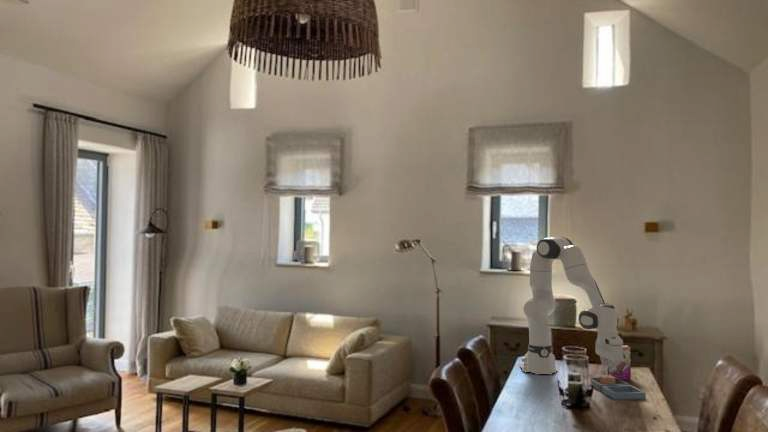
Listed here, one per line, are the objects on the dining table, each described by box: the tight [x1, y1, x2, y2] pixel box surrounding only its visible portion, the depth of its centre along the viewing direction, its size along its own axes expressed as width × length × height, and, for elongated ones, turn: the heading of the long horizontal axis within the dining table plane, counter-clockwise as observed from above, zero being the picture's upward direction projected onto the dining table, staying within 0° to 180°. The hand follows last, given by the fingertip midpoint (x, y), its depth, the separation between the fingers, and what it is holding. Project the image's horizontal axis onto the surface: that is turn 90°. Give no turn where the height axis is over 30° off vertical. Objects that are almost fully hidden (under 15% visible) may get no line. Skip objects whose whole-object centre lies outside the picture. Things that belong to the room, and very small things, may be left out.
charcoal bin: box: [590, 376, 631, 393], centre depth 273 cm, size 14×14×3 cm
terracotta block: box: [599, 374, 616, 385], centre depth 273 cm, size 5×5×5 cm
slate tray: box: [601, 384, 646, 401], centre depth 258 cm, size 12×14×3 cm
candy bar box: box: [604, 344, 632, 381], centre depth 287 cm, size 11×5×16 cm, turn 84°
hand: (609, 367), depth 272 cm, fingers open, 8 cm apart
